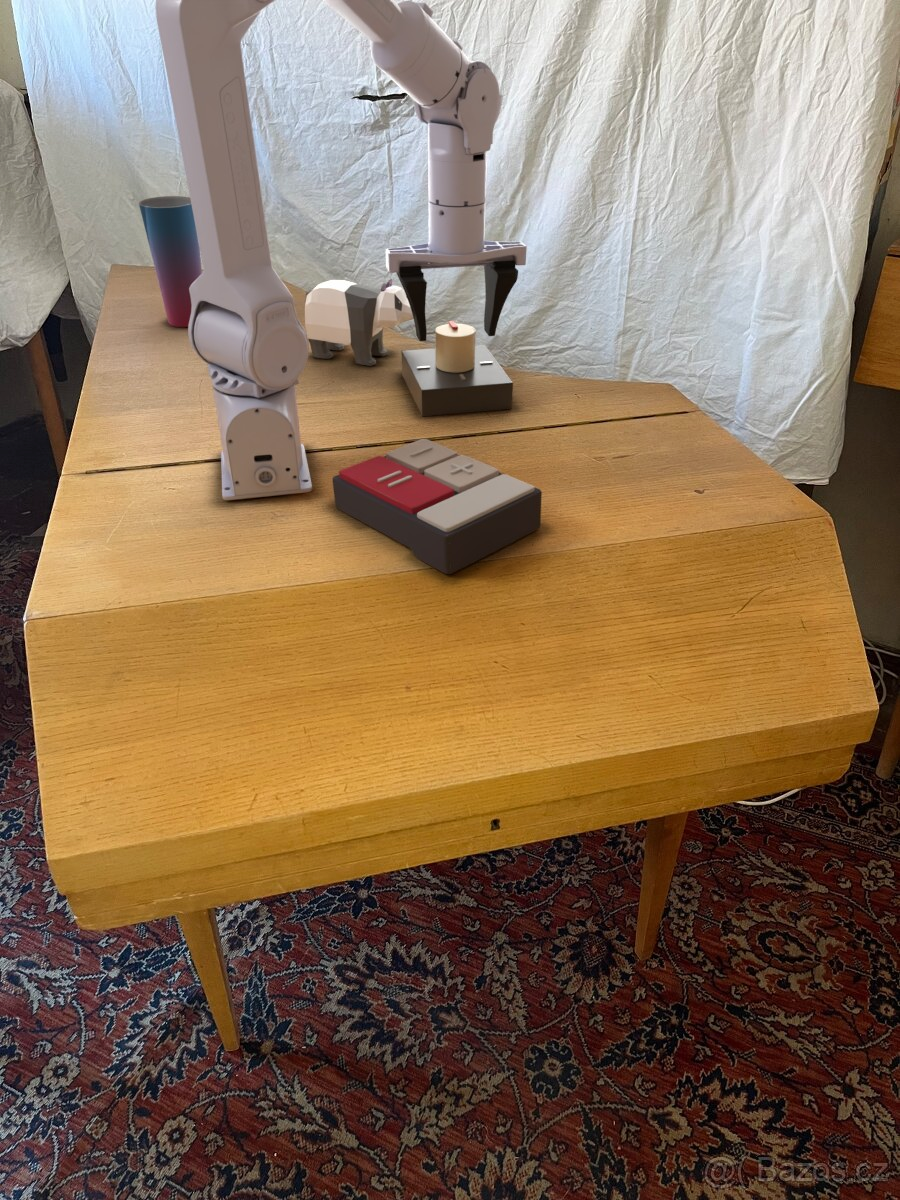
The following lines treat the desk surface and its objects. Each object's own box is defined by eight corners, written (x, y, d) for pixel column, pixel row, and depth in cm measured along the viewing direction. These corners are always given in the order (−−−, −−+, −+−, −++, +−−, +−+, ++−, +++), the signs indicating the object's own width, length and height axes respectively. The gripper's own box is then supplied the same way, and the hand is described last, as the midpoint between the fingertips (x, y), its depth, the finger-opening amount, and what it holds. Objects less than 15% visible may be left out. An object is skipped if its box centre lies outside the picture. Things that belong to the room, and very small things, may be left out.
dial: (479, 371, 94) (480, 332, 92) (440, 374, 93) (440, 335, 91) (469, 357, 98) (470, 319, 95) (431, 359, 97) (431, 321, 94)
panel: (511, 409, 94) (513, 381, 92) (421, 416, 92) (421, 388, 90) (484, 369, 103) (484, 343, 101) (402, 375, 101) (401, 349, 99)
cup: (160, 315, 118) (138, 197, 109) (211, 311, 120) (193, 194, 111) (162, 331, 113) (139, 208, 104) (215, 327, 114) (196, 205, 106)
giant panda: (301, 357, 106) (293, 277, 100) (322, 342, 110) (315, 265, 104) (411, 373, 102) (409, 291, 96) (428, 357, 106) (427, 277, 100)
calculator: (424, 432, 80) (544, 481, 71) (426, 474, 82) (542, 527, 73) (328, 469, 74) (446, 528, 65) (333, 513, 76) (448, 576, 67)
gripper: (515, 190, 90) (509, 319, 98) (378, 195, 87) (384, 328, 95) (535, 204, 84) (527, 340, 93) (390, 210, 82) (395, 350, 90)
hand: (455, 335), depth 94 cm, fingers open, 7 cm apart
